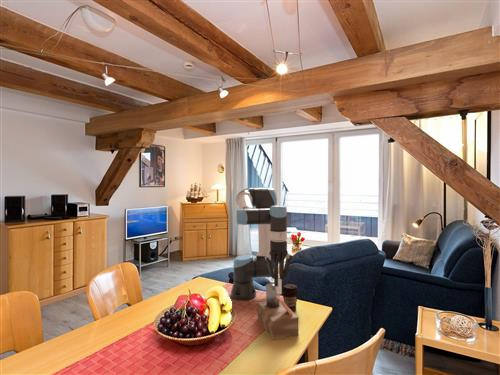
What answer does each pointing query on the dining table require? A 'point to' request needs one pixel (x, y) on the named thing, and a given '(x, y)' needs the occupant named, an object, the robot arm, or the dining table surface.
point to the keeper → (284, 305)
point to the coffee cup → (290, 296)
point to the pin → (271, 296)
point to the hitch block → (278, 321)
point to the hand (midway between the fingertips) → (278, 293)
